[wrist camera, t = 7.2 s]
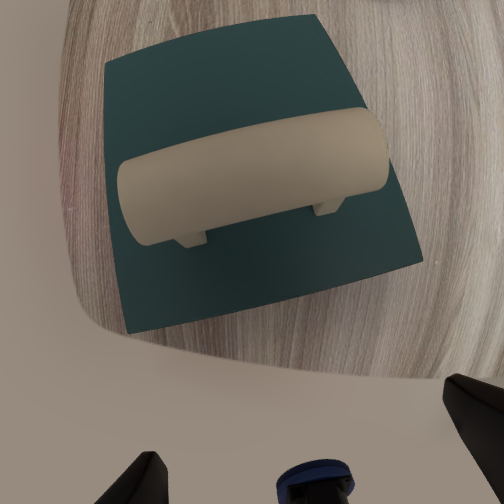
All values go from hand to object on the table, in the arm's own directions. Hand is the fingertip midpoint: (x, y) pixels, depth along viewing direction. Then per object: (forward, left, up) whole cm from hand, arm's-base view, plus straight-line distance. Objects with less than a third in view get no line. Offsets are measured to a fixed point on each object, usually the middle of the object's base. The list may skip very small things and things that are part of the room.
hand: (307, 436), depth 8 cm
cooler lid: (+8, +1, -5) cm, 10 cm away
